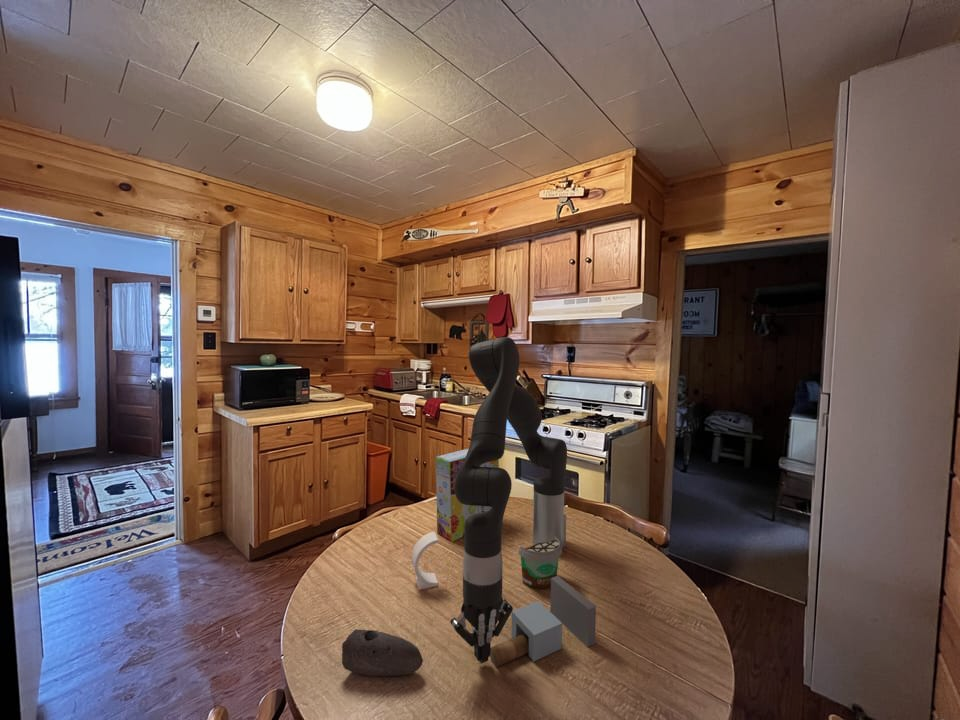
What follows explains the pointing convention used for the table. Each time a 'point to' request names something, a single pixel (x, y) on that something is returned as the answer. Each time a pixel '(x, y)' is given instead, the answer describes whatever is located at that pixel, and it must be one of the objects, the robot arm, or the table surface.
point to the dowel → (509, 650)
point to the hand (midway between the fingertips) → (482, 659)
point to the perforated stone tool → (379, 654)
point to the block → (538, 629)
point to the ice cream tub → (540, 563)
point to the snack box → (453, 496)
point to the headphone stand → (422, 577)
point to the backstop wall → (573, 610)
